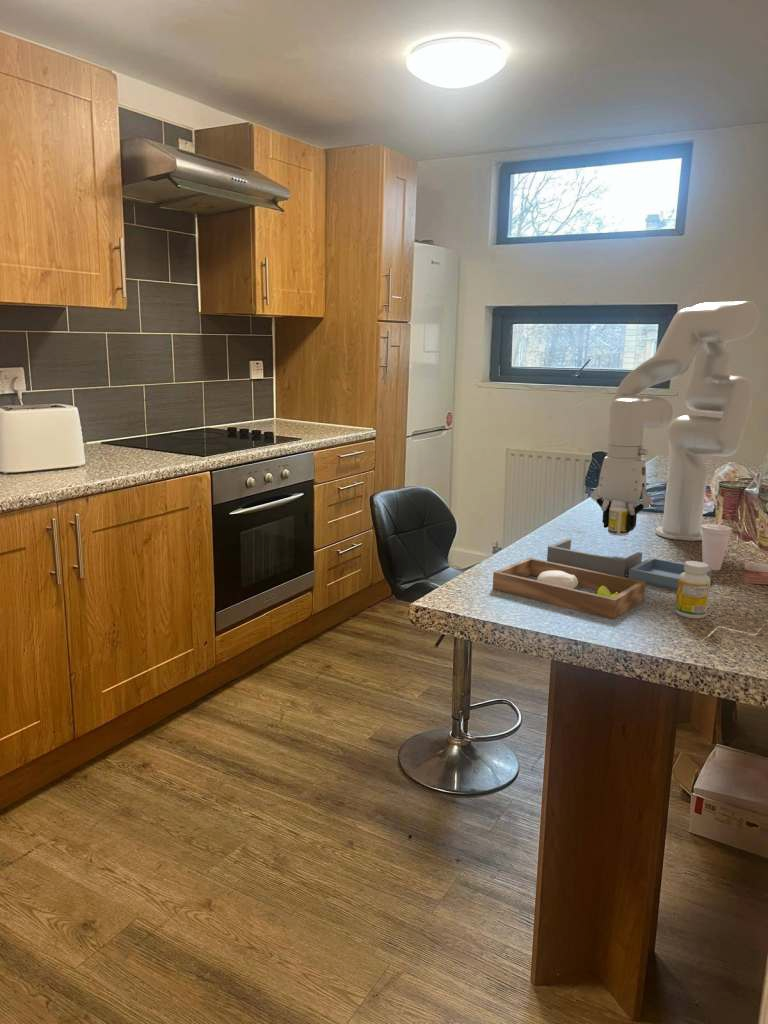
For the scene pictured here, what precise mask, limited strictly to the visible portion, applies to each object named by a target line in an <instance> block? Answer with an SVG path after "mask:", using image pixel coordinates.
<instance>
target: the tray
mask: <svg viewBox="0 0 768 1024" xmlns="http://www.w3.org/2000/svg"><path fill="white" fill-rule="evenodd" d="M684 564H685V562H679V561H673V560H667V559H662V558H658V557H657V558H656V557H649V558H647V559H645V560H642V562H641V563H640V564H638V565H636V566H634V567H632V568H630V569H629V575H628V577H627V578H629V579H634V580H639V581H644V582H646V585H649V586H653V587H657V588H658V587H659V588H663V589H668V590H673V591H677V590H678V581H679V576H680V574H681V573H683V572H685V570H684ZM712 573H713V570H712V569H711V568H708V572H707V573H706V575H707V576H708V577H709V578H710V581H711V580H712Z"/></svg>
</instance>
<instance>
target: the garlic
mask: <svg viewBox="0 0 768 1024" xmlns="http://www.w3.org/2000/svg"><path fill="white" fill-rule="evenodd" d="M536 580H537V581H541V582H545V583H550V584H554V585H558V586H563V587H567V588H572V589H575V588H576V587H578V586H577V585H578V581H577V578H576V577H575V575H571V574H568V573H566V572H563V571H557V570H553V571H545V572H542V573H540V574H539V576H538V577H537V579H536Z"/></svg>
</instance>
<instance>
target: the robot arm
mask: <svg viewBox="0 0 768 1024" xmlns="http://www.w3.org/2000/svg"><path fill="white" fill-rule="evenodd" d="M759 321H760V312H759V307H758V306H757V305H756V304H755V303H754V302H752V301H748V300H746V301H745V300H744V301H743V300H740V301H715V302H713V301H711V302H710V301H709V302H702V303H698V304H695V305H693V306H691V307H685V308H683V309H680V310H679V311H677V312H676V313H674V316H673V318H672V319H671V321H670V323H669V325H668V328H667V329H666V331H665V332H664V335H663V337H662V339H661V341H660V343H659V344H658V347H657V348H656V351H655V352H654V355H653V356H651V357H650V358H649V359H647V360H645V361H644V362H642V363H640V365H638V366H637V367H635V368H634V369H633V370H632V371H630V372H629V373H628V374H627V375H626V376H625V377H624V378H623V379H622V380H621V382H620V384H619V386H618V388H617V389H616V391H615V393H614V396H613V397H612V399H611V403H610V406H609V423H608V424H609V425H608V426H609V427H608V438H607V439H608V440H607V453H606V456H605V457H604V458H603V461H602V465H601V468H600V474H599V479H598V485H597V486H596V487H595V489H594V490H593V491H592V492H590V497H591V498H592V499H593V500H594V501H596V503H597V504H598V505H599V507H600V509H601V511H602V520H601V521H602V524H603V529H604V528H606V529H608V524H609V509H610V507H611V506H612V503H611V502H612V500H619V501H623V502H628V507H629V515H627V525H626V531H628V532H629V533H630V532H632V531H634V529H635V528H636V526H637V517H638V514H639V512H641V511H642V510H643V509H645V508H647V507H648V506H650V505H652V504H653V499H652V497H651V496H650V494H649V493H648V492H647V467H646V466H647V465H646V459H644V458H642V457H643V456H647V455H648V452H649V451H648V449H646V448H644V445H643V436H644V430H645V429H646V430H647V429H648V430H660V429H662V428H664V427H666V426H667V425H668V424H669V427H668V430H667V440H668V453H669V454H668V455H669V456H668V470H667V478H666V479H667V480H666V490H665V497H664V498H665V499H664V508H663V515H662V516H663V518H662V526H658V527H656V528H655V534H656V535H658V536H660V537H662V538H666V539H671V540H676V541H685V542H696V541H697V542H698V541H702V530H701V525H703V524H702V523H703V514H704V506H705V498H706V491H707V489H706V488H707V481H708V473H709V472H708V467H707V463H706V460H705V459H704V458H703V455H707V456H715V457H731V456H733V455H734V454H736V452H737V451H738V449H739V448H740V445H741V444H742V439H743V436H744V433H745V430H746V426H747V422H748V419H749V415H750V411H751V408H752V404H753V399H754V397H753V396H754V388H753V385H752V383H751V381H750V379H748V378H747V377H744V376H740V375H728V372H729V368H730V364H731V359H732V358H731V354H730V352H729V349H728V348H727V346H726V344H725V343H730V342H734V341H737V340H741V339H745V338H747V337H749V336H750V335H752V334H753V333H754V332H755V330H756V329H757V328H758V325H759ZM693 359H694V360H693ZM692 362H693V364H692ZM691 364H692V369H691V371H690V375H689V379H688V382H687V387H686V391H685V394H684V404H685V406H686V407H687V408H688V409H689V410H690V411H695V412H699V413H701V412H702V413H712V414H722V417H714V416H706V415H693V414H690V415H689V414H685V415H680V416H678V417H676V418H674V419H673V420H672V418H673V414H674V409H673V406H672V404H671V402H669V400H667V398H663V397H660V396H651V395H650V396H649V395H641V394H642V393H643V392H644V391H646V390H647V389H649V388H651V387H653V386H655V385H658V384H662V383H664V382H667V381H670V380H673V379H675V378H677V377H680V376H683V374H685V373H686V372H687V371H688V369H689V367H690V365H691ZM670 421H671V423H670ZM639 501H643V502H641V503H639V504H638V502H639Z"/></svg>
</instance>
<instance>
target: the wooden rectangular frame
mask: <svg viewBox="0 0 768 1024" xmlns="http://www.w3.org/2000/svg"><path fill="white" fill-rule="evenodd" d="M553 570H557V571H563V572H566V573H568V574H571V575H575V577H576V578H577V581H578V585H577V586H576V587H580V588H585V589H590V590H595V591H598V589H599V588H600V587H601V586H605V587H606V588H607V589H608V590H609V591H610V593H616V592H618V595H616V596H615V597H613V598H611V597H606V596H602V595H598V594H594V593H593V592H587V591H584V590H580V589H575V588H574V589H572V588H567V587H563V586H558V585H554V584H550V583H545V582H541V581H537V579H536V580H535V579H532V578H528V577H529V576H532V577H537V578H538V576H539V574H540V573H542V572H545V571H553ZM492 575H493V577H492V590H495V591H499V592H501V593H502V592H503V593H505V594H507V593H508V594H510V595H515V596H519V597H523V598H526V599H531V600H535V601H538V602H539V601H540V602H544V603H548V604H550V605H551V604H552V605H555V606H560V607H564V608H567V609H572V610H576V611H580V612H584V613H587V614H592V615H596V616H600V617H603V618H608V619H612V620H614V619H616V618H618V617H619V616H620V615H622V614H624V613H625V612H627V611H629V610H630V609H631V608H633V607H634V606H636V605H638V604H640V602H642V601H644V600H645V595H646V594H645V593H646V585H647V584H646V582H644V581H639V580H634V579H629V578H628V577H620V576H615V575H610V574H605V573H601V572H596V571H591V570H586V569H582V568H577V567H572V566H567V565H562V564H558V563H553V562H548V561H547V560H543V559H538V558H534V557H528V558H525V559H522V560H521V561H518V562H516V563H513V564H510V565H508V566H505V567H503V568H500V569H498V570H495V571H493V573H492Z"/></svg>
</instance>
